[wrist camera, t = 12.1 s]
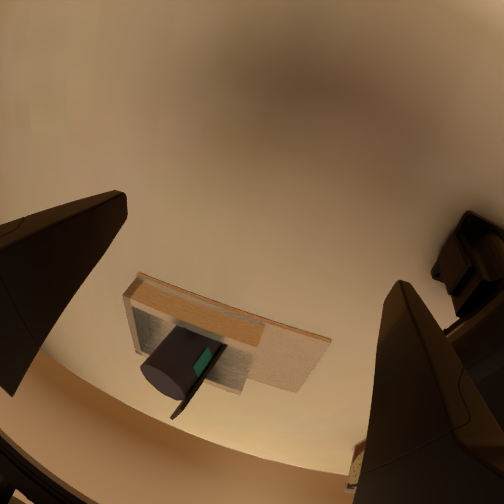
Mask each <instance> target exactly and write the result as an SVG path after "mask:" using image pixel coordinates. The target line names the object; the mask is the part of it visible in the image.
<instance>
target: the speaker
mask: <svg viewBox="0 0 504 504" xmlns="http://www.w3.org/2000/svg"><path fill="white" fill-rule="evenodd" d="M227 346H228V345H227V344H224V345H223V346H222V344H221V342H219V341H216V340H214V339H211V338H208V337H206V336H203V335H201V334H198V333H195V332H193V331H190V330H188V329H185V328H183V327H180V326H178V325H176V326H175V327H174V328H173V330H172V331H171V332H170V333H169V334H168V335H167V336H166V338H165V339H164V340H163V341H162V342H161V343H160V344H159V346H158V347H157V348H156V349H155V350H154V351H153V352H152V354H151V355H150V356H149V357H148V358H147V359H146V360H145V362H144V363H143V364H142V365H141V366H140V368H141V371H142V373H143V375H144V376H145V378H146V380H147V381H148V382H150V383H151V384H152V385H153V386H154V387H155V388H156V389H157V390H158V391H160V392H161V393H163V394H164V395H166V396H168V397H170V398H172V399H175V400H182V402H181V403H180V405H179V406H178V407H177V409H176V410H175V411H174V413H173V414H172V416H171V417H170V418H171V419H172V420H173V419H174V418H176V417H177V416H178V415H179V414H180V413H181V412H182V411H183V410H184V409H185V407H186V406H187V404H188V403H189V401H190V400H191V399H192V397H193V396H194V394H195V393H196V391H197V390H198V389H199V387H200V386H201V384H202V383H203V381H204V380H205V378H206V377H207V376H208V374H209V373H210V371H211V370H212V368H213V367H214V365H215V364H216V362H217V361H218V359H219V358H220V357H221V355H222V354H223V352H224V351H225V349H226V348H227Z"/></svg>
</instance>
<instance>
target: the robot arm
mask: <svg viewBox="0 0 504 504" xmlns="http://www.w3.org/2000/svg"><path fill="white" fill-rule="evenodd" d="M127 215H128V210H127V197H126V194H125V193H124V192H121V191H117V190H113V191H109V192H105V193H102V194H98V195H94V196H91V197H87V198H83V199H80V200H76V201H73V202H70V203H66V204H63V205H60V206H56V207H53V208H50V209H47V210H44V211H40V212H37V213H34V214H31V215H28V216H26V217H22V218H19V219H17V220H14V221H11V222H8V223H5V224H2V225H0V387H1V388H2V389H4V390H5V391H6V392H7V393H8V394H9V395H10V396H11V397H13V395H14V394H15V392H16V390H17V388H18V386H19V385H20V383H21V381H22V379H23V377H24V375H25V373H26V372H27V370H28V368H29V366H30V364H31V363H32V361H33V359H34V358H35V356H36V354H37V353H38V351H39V349H40V347H41V346H42V344H43V342H44V341H45V339H46V337H47V336H48V334H49V333H50V331H51V329H52V328H53V326H54V325H55V323H56V322H57V320H58V319H59V317H60V315H61V314H62V312H63V311H64V309H65V308H66V306H67V305H68V303H69V302H70V301H71V299H72V298H73V296H74V295H75V293H76V292H77V290H78V289H79V288H80V286H81V285H82V283H83V282H84V281H85V279H86V278H87V276H88V275H89V274H90V272H91V271H92V270H93V268H94V267H95V266H96V264H97V263H98V262H99V260H100V259H101V258H102V256H103V255H104V253H105V252H106V250H107V249H108V247H109V246H110V244H111V243H112V241H113V239H114V238H115V236H116V235H117V233H118V232H119V230H120V229H121V227H122V226H123V224H124V223H125V221H126V219H127ZM469 217H471V219H470V220H467V219H468V218H469ZM437 272H438V274H435V273H437ZM431 276H432V278H433V279H435V280H437V281H440V282H443V283H445V285H446V289H447V293H448V295H451V298H452V302H453V306H454V310H455V314H456V316H457V317H459V318H460V319H458V320H457V321H456V322H455V323H453V324H452V325H451V326H450V327H448V328H447V329H444V330H443V331H442V329H441V328H440V326H439V325H438V323H437V322H436V320H435V319H434V317H433V316H432V314H431V313H430V311H429V310H428V308H427V307H426V305H425V304H424V302H423V301H422V299H421V298H420V296H419V295H418V294H417V292H416V291H415V289H414V288H413V286H412V285H411V284H410V283H408V282H405V281H403V280H397V281H396V283H395V284H394V286H393V287H392V289H391V290H390V292H389V294H388V295H387V297H386V299H385V301H384V304H383V311H382V318H381V324H380V331H379V337H378V343H377V351H376V363H375V375H374V385H373V394H372V403H371V410H370V418H369V425H368V431H367V437H366V443H365V449H364V454H363V460H362V465H361V470H360V475H359V478H358V483H357V487H356V491H355V496H354V500H353V504H504V229H503V228H502V227H500V226H498V225H496V224H494V223H492V222H490V221H489V220H487V219H485V218H483V217H481V216H479V215H477V214H475V213H473V212H470V211H468V212H466V213H465V214H464V215H463V217H462V219H461V221H460V223H459V225H458V227H457V228H456V230H455V232H454V233H453V234H452V235H451V236H450V238H449V240H448V242H447V243H446V245H445V247H444V249H443V250H442V252H441V254H440V255H439V257H438V261H437V262H436V264H435V266H434V267H433V269H432V271H431ZM15 489H17V490H19V491H20V492H21V493H22V494H23V495H24V496H26V498H27V499H28V500H30V501H32V502H33V503H34V504H98V503H97V502H95V501H93V500H91V499H90V498H88V497H87V496H85V495H84V494H82V493H80V492H79V491H77V490H76V489H74V488H73V487H71V486H70V485H68V484H67V483H65V482H64V481H62V480H61V479H60V478H58V477H57V476H56V475H54V474H53V473H52V472H50V471H49V470H47V469H46V468H45V467H44V466H42V465H41V464H40V463H39V462H37V461H36V460H35V459H34V458H32V457H31V456H30V455H29V454H28V453H26V452H25V451H24V450H23V449H22V448H21V447H20V446H18V445H17V444H16V443H15V442H14V441H13V440H12V439H11V438H10V437H9V436H7V435H6V434H5V433H4V432H3V431H2V430H1V429H0V504H25V503H24V502H22V501H21V500H19V499H18V498H16V497H14V496H12V495H13V493H14V491H15Z"/></svg>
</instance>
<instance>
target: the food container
mask: <svg viewBox="0 0 504 504" xmlns="http://www.w3.org/2000/svg"><path fill="white" fill-rule="evenodd" d="M365 443H366V439H364V440H362V441H361V442H359V443H358V444H356V445H355V448H354V453H353V458H352V462H351V467H350V471H349V475H348V480H347V483H345V492H346V493H355V491H356V487H357V483H358V478H359V475H360V470H361V465H362V460H363V454H364V449H365Z"/></svg>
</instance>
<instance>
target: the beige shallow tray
mask: <svg viewBox="0 0 504 504" xmlns="http://www.w3.org/2000/svg"><path fill="white" fill-rule="evenodd" d="M123 300H124V305H125V310H126V314H127V319H128V323H129V327H130V331H131V335H132V339H133V343H134V347H135V351H136V353H138V354H140V355H142V356H144V357H146V358H148V357H149V356H150V355H151V354H152V352H153V351H154V350H155V349H156V348H157V347H158V346H159V344H160V343H161V342H162V341H163V340H164V339H165V338H166V336H167V335H168V334H169V333H170V332H171V331H172V330H173V328H174V327H175V326H176V325H178V326H180V327H183V328H185V329H188V330H190V331H193V332H195V333H198V334H201V335H203V336H206V337H208V338H211V339H214V340H216V341H219V342H221V344H222V346H223V345H224V344H227V345H228V346H227V348H226V349H225V351H224V352H223V354H222V355H221V357H220V358H219V359H218V361H217V362H216V364H215V365H214V367H213V368H212V370H211V371H210V373H209V374H208V376H207V377H206V378H205V380H204V381H203V382H205V383H207V384H210V385H213V386H215V387H218V388H221V389H224V390H226V391H229V392H232V393H235V394H238V395H241V392H242V389H243V387H244V384H245V381H246V378H249V379H252V380H255V381H258V382H261V383H264V384H267V385H270V386H273V387H277V388H280V389H283V390H287V391H290V392H294V393H297V392H298V390H299V389H300V387H301V386H302V385H303V383H304V382H305V380H306V379H307V378H308V376H309V375H310V373H311V372H312V370H313V369H314V368H315V366H316V365H317V363H318V362H319V360H320V359H321V357H322V356H323V354H324V353H325V351H326V350H327V348H328V347H329V345H330V344H331V339H328V338H325V337H322V336H318V335H315V334H312V333H308V332H305V331H302V330H299V329H296V328H292V327H289V326H286V325H283V324H280V323H277V322H274V321H271V320H268V319H265V318H262V317H259V316H256V315H253V314H250V313H247V312H244V311H241V310H238V309H235V308H232V307H230V306H227V305H224V304H221V303H218V302H216V301H213V300H210V299H207V298H204V297H202V296H199V295H196V294H194V293H191V292H188V291H186V290H183V289H180V288H178V287H175V286H172V285H170V284H167V283H165V282H162V281H160V280H157V279H154V278H152V277H149V276H147V275H144V274H142V273H138V274H137V278H136V279H135V280H134V281H133V282H132V284H131V285H130V286H129V287H128V289H127V290H126V291H125V292H124V294H123Z"/></svg>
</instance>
